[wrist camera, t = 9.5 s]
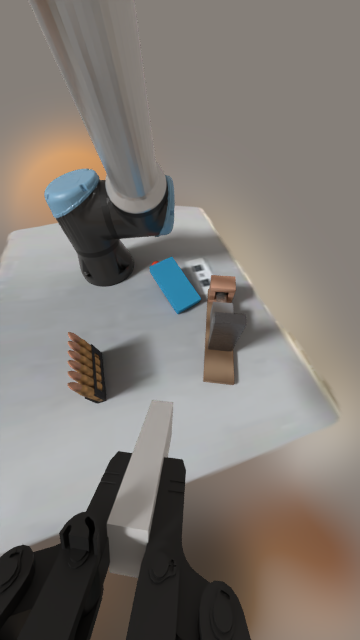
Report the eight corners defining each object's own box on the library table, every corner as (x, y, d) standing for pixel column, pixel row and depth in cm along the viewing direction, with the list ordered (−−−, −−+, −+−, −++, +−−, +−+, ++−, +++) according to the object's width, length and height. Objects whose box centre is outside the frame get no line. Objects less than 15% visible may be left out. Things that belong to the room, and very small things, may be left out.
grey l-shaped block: (231, 351, 39) (246, 324, 29) (207, 349, 39) (214, 322, 30) (229, 295, 47) (241, 259, 37) (210, 293, 47) (216, 258, 38)
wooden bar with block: (232, 385, 37) (241, 376, 31) (203, 381, 37) (206, 372, 32) (230, 293, 49) (235, 275, 44) (207, 292, 50) (210, 273, 44)
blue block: (195, 308, 53) (163, 261, 57) (201, 298, 46) (164, 246, 50) (175, 320, 51) (144, 270, 55) (178, 311, 44) (142, 255, 48)
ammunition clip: (93, 354, 41) (62, 329, 31) (101, 352, 42) (73, 326, 31) (96, 403, 36) (61, 392, 26) (106, 400, 36) (74, 388, 26)
